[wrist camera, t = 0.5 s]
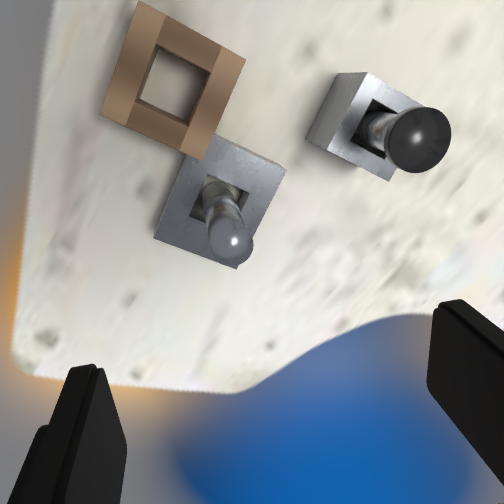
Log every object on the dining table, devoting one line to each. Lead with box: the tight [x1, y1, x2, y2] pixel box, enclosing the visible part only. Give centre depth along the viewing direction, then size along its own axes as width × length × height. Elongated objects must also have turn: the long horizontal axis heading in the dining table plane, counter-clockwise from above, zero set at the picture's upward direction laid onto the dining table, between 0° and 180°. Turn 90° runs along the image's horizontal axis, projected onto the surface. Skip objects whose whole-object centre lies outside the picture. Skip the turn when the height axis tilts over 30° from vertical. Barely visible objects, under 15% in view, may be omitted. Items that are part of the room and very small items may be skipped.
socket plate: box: [153, 134, 286, 269], centre depth 36 cm, size 10×8×2 cm
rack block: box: [99, 0, 246, 161], centre depth 31 cm, size 8×8×4 cm
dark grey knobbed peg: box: [351, 106, 451, 173], centre depth 29 cm, size 4×4×9 cm
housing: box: [305, 72, 424, 181], centre depth 34 cm, size 6×6×6 cm
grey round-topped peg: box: [202, 182, 253, 266], centre depth 32 cm, size 3×3×12 cm
